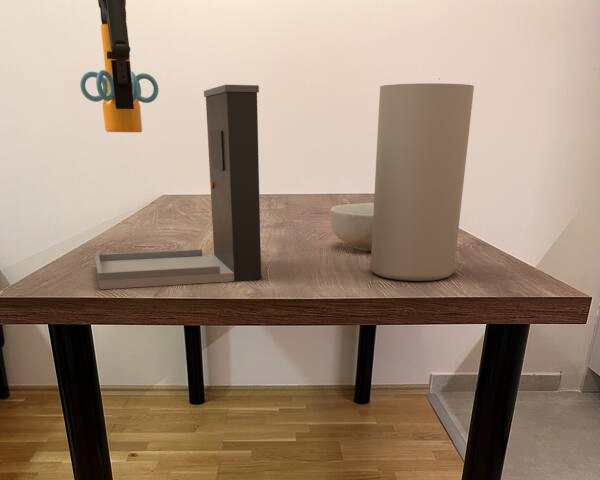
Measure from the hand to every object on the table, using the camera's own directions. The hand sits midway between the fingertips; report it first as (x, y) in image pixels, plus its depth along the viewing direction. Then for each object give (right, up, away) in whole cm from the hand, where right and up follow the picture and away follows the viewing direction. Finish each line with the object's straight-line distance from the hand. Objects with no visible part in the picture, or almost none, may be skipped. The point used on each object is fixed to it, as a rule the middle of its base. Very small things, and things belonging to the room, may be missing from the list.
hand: (122, 110), depth 104 cm
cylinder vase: (+46, -29, -7) cm, 55 cm away
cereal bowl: (+43, -19, +13) cm, 49 cm away
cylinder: (0, -3, +1) cm, 3 cm away
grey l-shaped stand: (+11, -29, -8) cm, 32 cm away
